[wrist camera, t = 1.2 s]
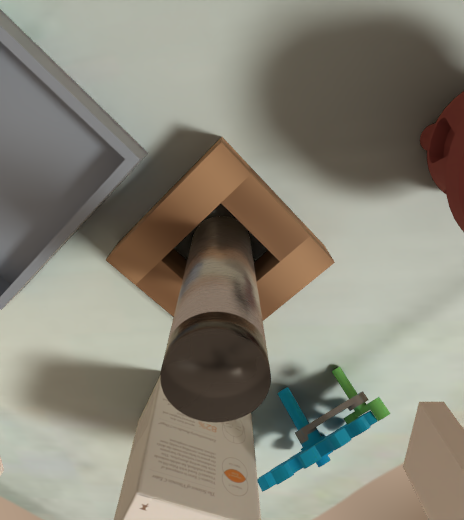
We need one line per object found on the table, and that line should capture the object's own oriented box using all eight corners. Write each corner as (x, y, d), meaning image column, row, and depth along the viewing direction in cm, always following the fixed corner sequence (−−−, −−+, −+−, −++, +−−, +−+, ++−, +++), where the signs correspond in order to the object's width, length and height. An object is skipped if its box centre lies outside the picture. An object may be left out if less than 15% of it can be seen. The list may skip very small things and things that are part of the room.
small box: (138, 418, 33) (101, 552, 24) (161, 369, 31) (132, 493, 22) (225, 446, 35) (224, 584, 25) (252, 401, 33) (263, 531, 23)
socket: (221, 136, 24) (221, 142, 22) (323, 245, 27) (334, 262, 25) (117, 242, 27) (105, 259, 24) (220, 331, 30) (220, 355, 27)
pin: (221, 203, 26) (215, 312, 13) (262, 244, 27) (293, 381, 14) (180, 243, 27) (137, 380, 14) (221, 280, 28) (215, 438, 15)
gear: (280, 485, 34) (251, 514, 25) (246, 420, 37) (210, 425, 28) (390, 418, 33) (401, 424, 24) (348, 357, 36) (344, 342, 27)
